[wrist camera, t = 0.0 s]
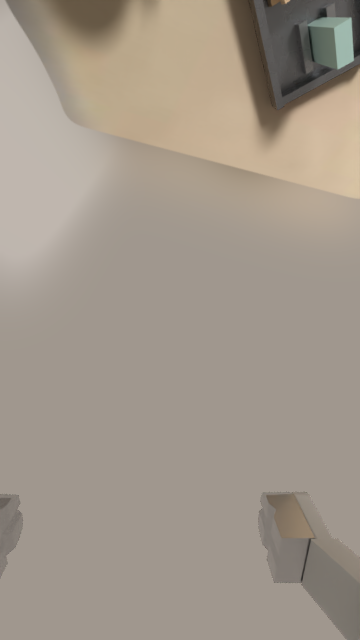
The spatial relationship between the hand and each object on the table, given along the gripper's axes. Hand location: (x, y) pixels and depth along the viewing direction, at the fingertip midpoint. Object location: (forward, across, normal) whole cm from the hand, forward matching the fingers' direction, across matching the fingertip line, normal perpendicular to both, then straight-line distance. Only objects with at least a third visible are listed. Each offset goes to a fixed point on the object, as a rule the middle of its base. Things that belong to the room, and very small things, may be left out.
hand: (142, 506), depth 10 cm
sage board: (+42, -20, -35) cm, 58 cm away
